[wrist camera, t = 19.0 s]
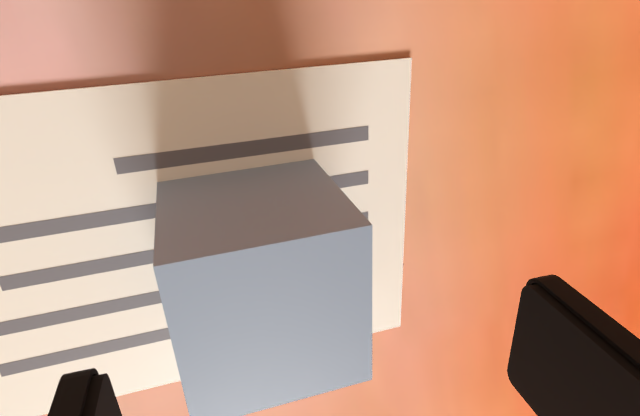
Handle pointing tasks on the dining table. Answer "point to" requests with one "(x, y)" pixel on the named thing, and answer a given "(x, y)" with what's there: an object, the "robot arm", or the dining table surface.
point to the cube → (263, 286)
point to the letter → (140, 203)
